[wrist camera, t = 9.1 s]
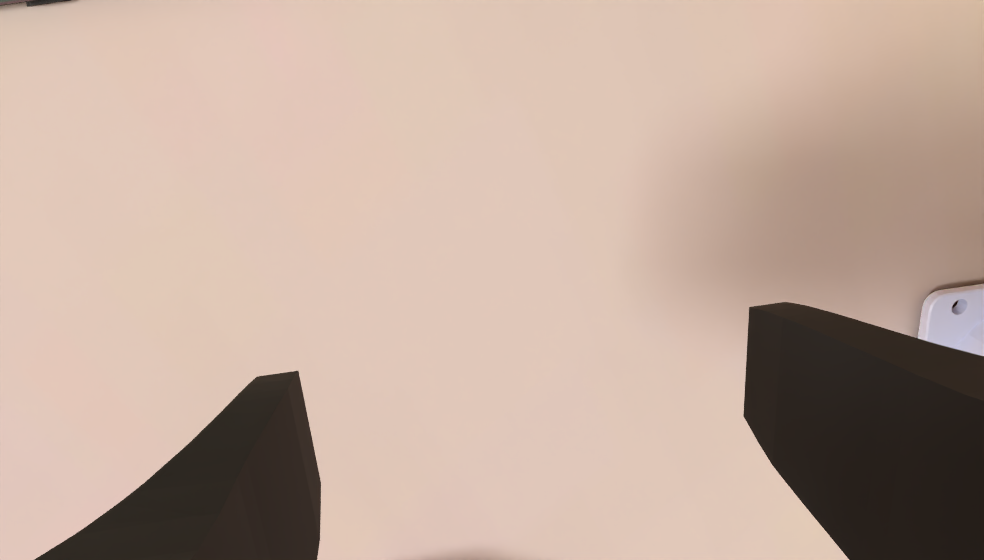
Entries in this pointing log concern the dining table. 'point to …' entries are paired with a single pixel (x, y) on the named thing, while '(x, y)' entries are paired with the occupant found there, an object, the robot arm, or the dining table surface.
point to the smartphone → (29, 2)
